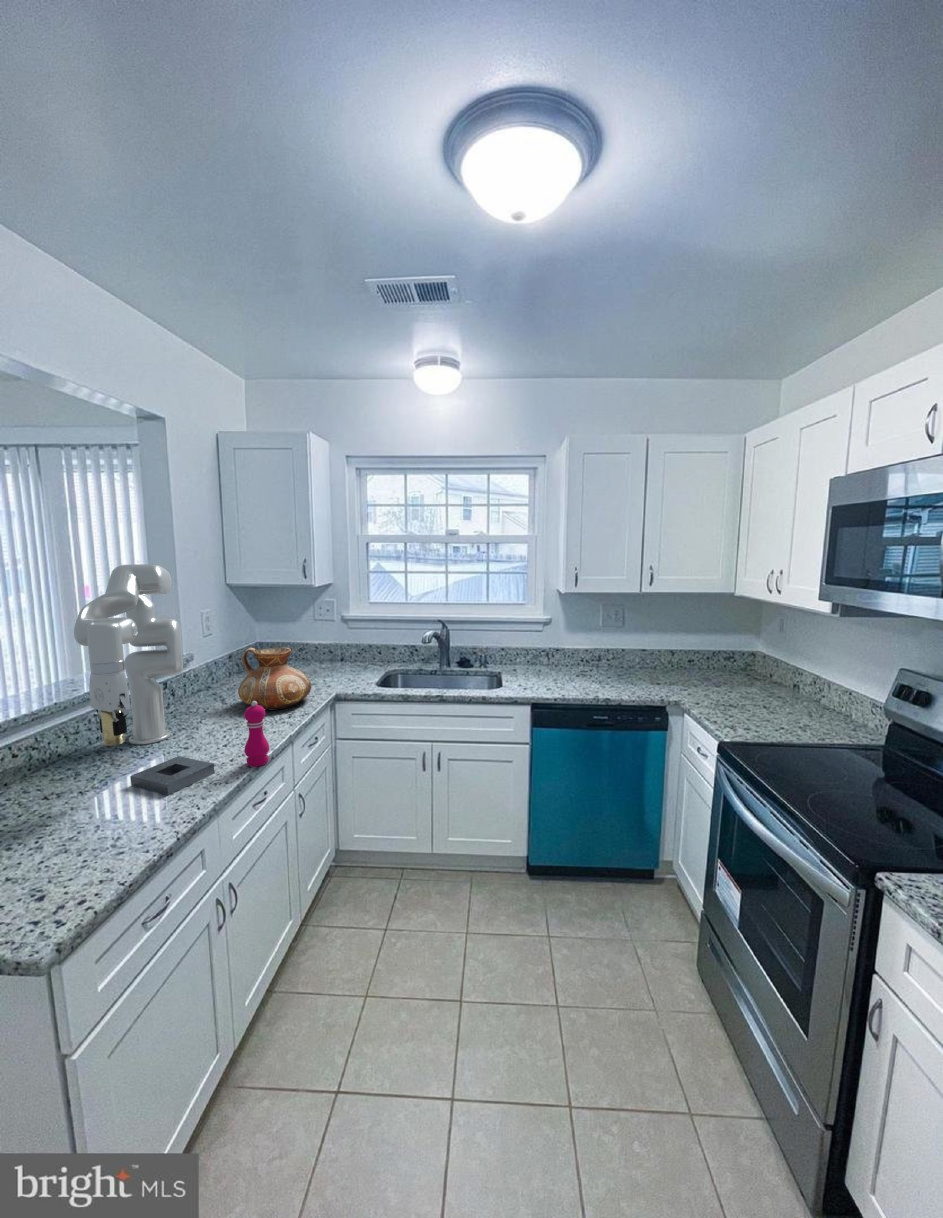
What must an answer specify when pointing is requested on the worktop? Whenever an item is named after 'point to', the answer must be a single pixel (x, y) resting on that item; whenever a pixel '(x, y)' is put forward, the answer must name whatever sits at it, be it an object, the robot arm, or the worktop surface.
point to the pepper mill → (256, 736)
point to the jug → (273, 680)
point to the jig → (166, 784)
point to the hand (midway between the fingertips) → (113, 732)
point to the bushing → (110, 730)
